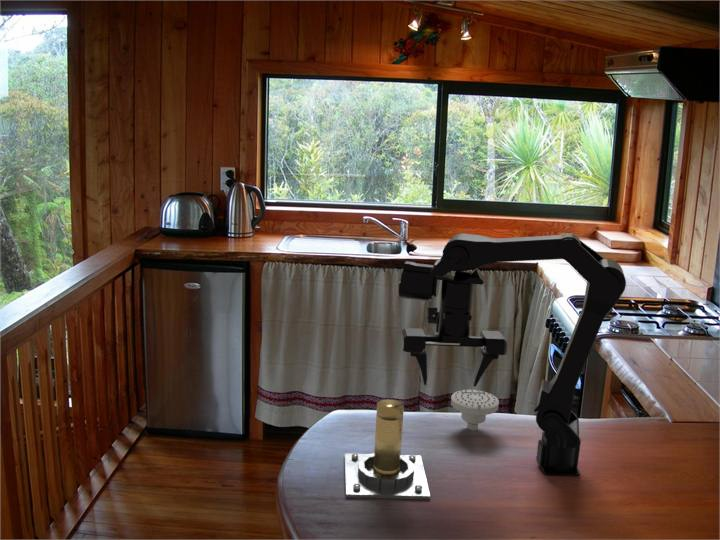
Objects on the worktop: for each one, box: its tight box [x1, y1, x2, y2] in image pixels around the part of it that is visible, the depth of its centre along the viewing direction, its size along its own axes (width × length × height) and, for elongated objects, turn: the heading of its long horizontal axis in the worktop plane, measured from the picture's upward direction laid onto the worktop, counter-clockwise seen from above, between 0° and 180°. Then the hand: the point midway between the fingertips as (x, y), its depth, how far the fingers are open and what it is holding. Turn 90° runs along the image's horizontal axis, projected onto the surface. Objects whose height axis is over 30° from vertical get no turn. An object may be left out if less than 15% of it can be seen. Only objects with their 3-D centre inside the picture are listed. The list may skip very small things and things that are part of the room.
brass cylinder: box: [373, 399, 405, 477], centre depth 132 cm, size 5×5×13 cm
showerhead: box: [450, 388, 500, 431], centre depth 153 cm, size 9×7×10 cm
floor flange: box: [344, 452, 431, 500], centre depth 134 cm, size 14×14×2 cm
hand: (449, 384), depth 142 cm, fingers open, 9 cm apart
